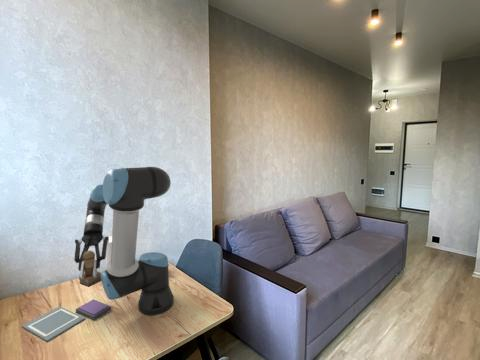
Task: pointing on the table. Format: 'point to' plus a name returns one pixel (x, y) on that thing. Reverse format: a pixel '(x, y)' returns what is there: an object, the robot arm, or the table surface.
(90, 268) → the stamp
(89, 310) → the ink pad
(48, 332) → the form board
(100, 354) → the table surface
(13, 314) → the table surface
